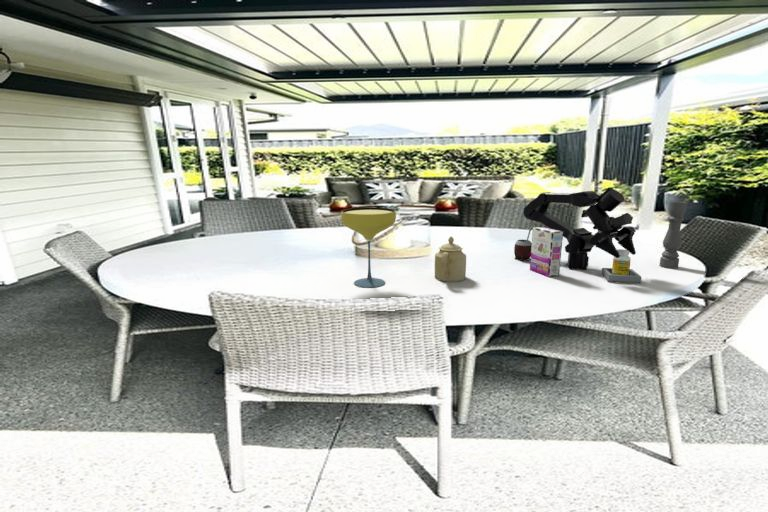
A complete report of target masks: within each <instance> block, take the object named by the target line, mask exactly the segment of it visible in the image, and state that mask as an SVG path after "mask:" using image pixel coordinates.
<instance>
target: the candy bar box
mask: <svg viewBox="0 0 768 512" xmlns="http://www.w3.org/2000/svg"><path fill="white" fill-rule="evenodd" d="M531 234H532V236H531V243H532V247H531V257H530V260H529V261H530V262H529V270H530V271H532V272H535V273H537V274H540V275H543V276H545V277H548V278H549V277H559V276H560V271H561V270H560V269H561V259H562V249H563V240H564V237H563V231H558V230H554V229H550V228H549V227H543V226H541V227H540V226H539V227H538V226H537V227H532V233H531Z"/></svg>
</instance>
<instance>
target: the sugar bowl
mask: <svg viewBox="0 0 768 512" xmlns="http://www.w3.org/2000/svg"><path fill="white" fill-rule="evenodd" d="M447 240H448V242H447V243H445V244H442V245H441V246H440V247H438V252H436V253H435V254H434V278H435V279H436V280H439V281H442V282H448V283H449V282H450V283H451V282H462V281H464V280H465V279H466V273H467V272H466V271H467V255H466V253H464V252H463V251H462V250H463V247H461V246H460V245H459V244H456V243H454V242H455V241H454V240H455V239H454V237H453V236H452V235H451V236H450V237H448V239H447Z"/></svg>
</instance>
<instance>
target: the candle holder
mask: <svg viewBox="0 0 768 512" xmlns="http://www.w3.org/2000/svg"><path fill="white" fill-rule="evenodd" d="M687 207H688V202H687V201H679V200H678V201H677V200H672V201H671V200H670V201H669V203H668V214H669V216H668V217H667V220H668V222H669V223H668V229H667V231H666V233H665V236H664V238H663V241H662V246H663V247H664V251H663V252H662V253H661V257H660V259H659V267H660V266H661V268H663V267H664V269H670V270H671V269H672V270H673V269H679V263H680V258H679V257H680V254H679V252H678V251H679V249H680V248H681V247H682V244H683V243H682V236H681V235H682V234H681V227H682V223H683V222H684V220H685V218H684V214H686V211H687Z"/></svg>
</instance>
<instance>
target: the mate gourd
mask: <svg viewBox="0 0 768 512" xmlns="http://www.w3.org/2000/svg"><path fill="white" fill-rule="evenodd" d="M535 224H536V223H535V222H533V223H532V225H531V226H530V228H529V230H528V234H527V237H526V239H518V240H516V241H515V243H514V248H513V249H514V251H513V252H514V260H520V261H521V262H524V261H530V260H531V247H532V240H529V238H530V236H531V235H530V234H531V231H532V229H533V228H534V225H535Z"/></svg>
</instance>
